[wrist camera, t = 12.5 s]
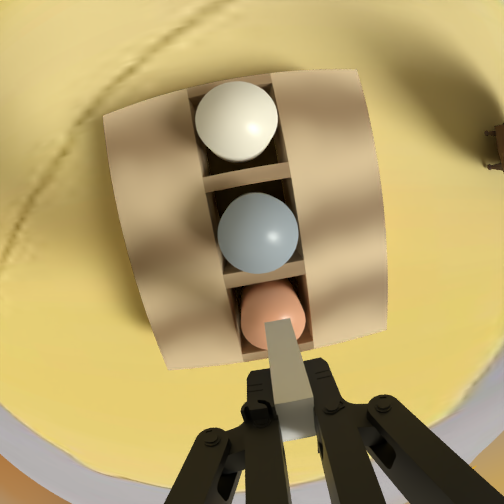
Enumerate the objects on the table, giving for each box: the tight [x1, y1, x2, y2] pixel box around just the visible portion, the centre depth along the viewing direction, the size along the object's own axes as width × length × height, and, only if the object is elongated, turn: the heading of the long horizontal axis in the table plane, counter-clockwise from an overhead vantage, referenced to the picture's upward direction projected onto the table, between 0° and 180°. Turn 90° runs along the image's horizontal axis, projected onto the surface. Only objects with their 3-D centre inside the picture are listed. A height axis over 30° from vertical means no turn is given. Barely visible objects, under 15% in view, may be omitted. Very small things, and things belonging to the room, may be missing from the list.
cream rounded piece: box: [195, 81, 278, 163], centre depth 16 cm, size 4×4×4 cm
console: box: [103, 69, 388, 370], centre depth 20 cm, size 20×18×5 cm
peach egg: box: [241, 278, 306, 350], centre depth 21 cm, size 4×4×4 cm
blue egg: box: [218, 192, 298, 274], centre depth 17 cm, size 4×4×4 cm
